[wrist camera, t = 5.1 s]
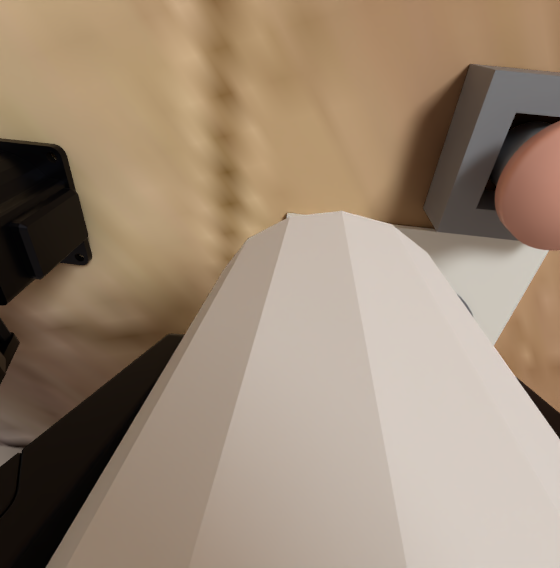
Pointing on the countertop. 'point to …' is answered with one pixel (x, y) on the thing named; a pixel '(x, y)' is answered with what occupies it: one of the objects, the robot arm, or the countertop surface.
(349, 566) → the shot glass
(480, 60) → the countertop surface
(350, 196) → the countertop surface
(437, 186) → the button housing
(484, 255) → the white square board
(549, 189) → the button
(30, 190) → the robot arm
